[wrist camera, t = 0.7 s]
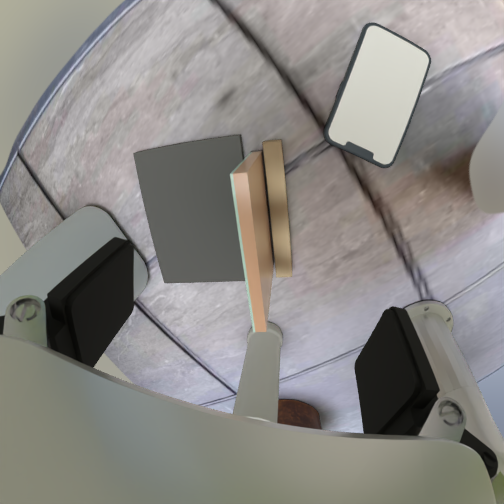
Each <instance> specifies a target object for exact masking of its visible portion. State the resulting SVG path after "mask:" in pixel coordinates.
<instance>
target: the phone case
mask: <svg viewBox="0 0 504 504" xmlns="http://www.w3.org/2000/svg"><path fill="white" fill-rule="evenodd" d="M430 64H431V58H430V55H429V54H428V52H427V51H426V50H424V49H423V48H421V47H419V46H418V45H416V44H414V43H413V42H411V41H409V40H407V39H406V38H404V37H402V36H400V35H398V34H397V33H395V32H393V31H391V30H389V29H387V28H385V27H383V26H381V25H379V24H377V23H368V24H366V25H365V26H364V27H363V29H362V32H361V35H360V37H359V40H358V43H357V45H356V48H355V51H354V53H353V56H352V59H351V61H350V64H349V66H348V69H347V72H346V74H345V77H344V80H343V82H342V83H341V85H340V88H339V90H338V93H337V95H336V100H335V103H334V105H333V108H332V111H331V113H330V116H329V118H328V121H327V123H326V126H325V128H324V133H323V134H324V138H325V140H326V141H327V142H328V143H329V144H331V145H333V146H336V147H338V148H340V149H342V150H345V151H347V152H349V153H351V154H354V155H356V156H358V157H360V158H362V159H364V160H366V161H368V162H371V163H373V164H375V165H377V166H379V167H381V168H388V167H390V166H391V165H392V164H393V163H394V161H395V159H396V156H397V154H398V151H399V149H400V147H401V144H402V142H403V140H404V137H405V135H406V132H407V129H408V127H409V124H410V122H411V119H412V116H413V113H414V111H415V108H416V105H417V102H418V100H419V97H420V94H421V91H422V88H423V85H424V82H425V79H426V76H427V73H428V70H429V67H430Z"/></svg>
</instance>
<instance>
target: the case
mask: <svg viewBox="0 0 504 504" xmlns="http://www.w3.org/2000/svg"><path fill="white" fill-rule="evenodd" d="M277 423H279V424H285V425H291V426H297V427H304V428H311V429H319V430H322V427H321V423H320V418H319V413H318V411H316V410H315V409H314V408H313V407H312V406H310V405H308V404H306V403H303V402H300V401H296V400H288V399H283V400H278V417H277Z"/></svg>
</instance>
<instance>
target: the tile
mask: <svg viewBox="0 0 504 504" xmlns="http://www.w3.org/2000/svg"><path fill="white" fill-rule="evenodd" d="M230 178H231V185H232V193H233V200H234V207H235V214H236V221H237V227H238V234H239V241H240V248H241V255H242V262H243V268H244V275H245V282H246V288H247V295H248V302H249V308H250V315H251V321H252V328H253V332H267V323H268V315H269V306H270V296H271V287H272V278H273V268H274V265H273V255H272V245H271V235H270V225H269V215H268V206H267V196H266V187H265V178H264V169H263V160H262V151H258V152H250V153H249V154H248V155H247V156H246V157H245V158H244V160H243V161H242V162H241V163H240V164H239V165H238V166H237V167H236V168H235V169H234V170H233V171H232V172H231V173H230Z"/></svg>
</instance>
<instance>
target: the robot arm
mask: <svg viewBox="0 0 504 504" xmlns="http://www.w3.org/2000/svg"><path fill="white" fill-rule="evenodd" d="M47 297H48V298H46V299H45V300H44V301H43V300H42V299H41V298H39V297H37V296H33V295H24V296H20V297H18V298H16V299H14V300H13V301H11V302H10V303H9V305H8V306H7V308H6V312H5V315H4V316H0V504H504V439H503V437H502V435H501V433H500V431H499V430H498V428H497V426H496V424H495V422H494V420H493V418H492V416H491V414H490V411H489V409H488V407H487V405H486V403H485V400H484V398H483V396H482V394H481V391H480V389H479V387H478V385H477V383H476V381H475V378H474V376H473V374H472V372H471V370H470V368H469V366H468V364H467V362H466V360H465V358H464V356H463V354H462V352H461V350H460V348H459V346H458V345H457V343H456V341H455V339H454V337H453V335H452V334H451V332H452V328H453V317H452V314H451V312H450V311H449V309H448V308H447V307H446V306H445V305H444V304H443V303H440V302H438V301H431V300H430V301H422V302H418V303H415V304H412V305H410V306H408V307H406V308H405V309H402V308H397V307H393V306H392V307H390V308H389V309H386V310H385V311H384V312H383V314H382V316H381V318H380V320H379V322H378V323H377V325H376V327H375V329H374V331H373V332H372V334H371V336H370V338H369V339H368V341H367V343H366V345H365V346H364V348H363V350H362V351H361V353H360V355H359V356H358V358H357V360H356V362H355V374H356V380H357V387H358V393H359V400H360V407H361V415H362V423H363V431H364V434H363V433H349V432H338V431H328V430H319V429H311V428H304V427H297V426H291V425H285V424H279V423H273V422H267V421H262V420H257V419H252V418H248V417H243V416H239V415H234V414H230V413H226V412H222V411H218V410H214V409H210V408H206V407H203V406H199V405H196V404H192V403H189V402H185V401H182V400H179V399H175V398H172V397H169V396H166V395H163V394H160V393H157V392H154V391H151V390H148V389H145V388H143V387H140V386H137V385H134V384H131V383H129V382H127V381H124V380H121V379H119V378H116V377H114V376H111V375H109V374H107V373H104V372H101V371H99V370H97V369H95V368H93V367H94V366H95V364H96V363H97V361H98V360H99V358H100V357H101V356H102V354H103V353H104V351H105V350H106V348H107V347H108V345H109V344H110V343H111V341H112V340H113V338H114V337H115V335H116V334H117V333H118V331H119V330H120V328H121V327H122V326H123V324H124V323H125V321H126V320H127V319H128V317H129V316H130V315H131V313H132V311H133V308H134V247H133V246H132V245H131V244H130V241H129V240H125V239H122V238H118V237H114V238H112V239H111V240H110V241H109V242H107V243H106V244H105V245H104V246H102V247H101V248H100V249H99V250H97V251H96V252H95V253H94V254H92V255H91V256H90V257H89V258H88V259H86V260H85V261H84V262H83V263H82V264H80V265H79V266H78V267H77V268H76V269H75V270H73V271H72V272H71V273H70V274H69V275H68V276H66V277H65V278H64V279H63V280H62V281H61V282H60V283H59V284H57V285H56V286H55V287H54V288H53V289H52V290H51V291H50V292H49V293H47Z"/></svg>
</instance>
